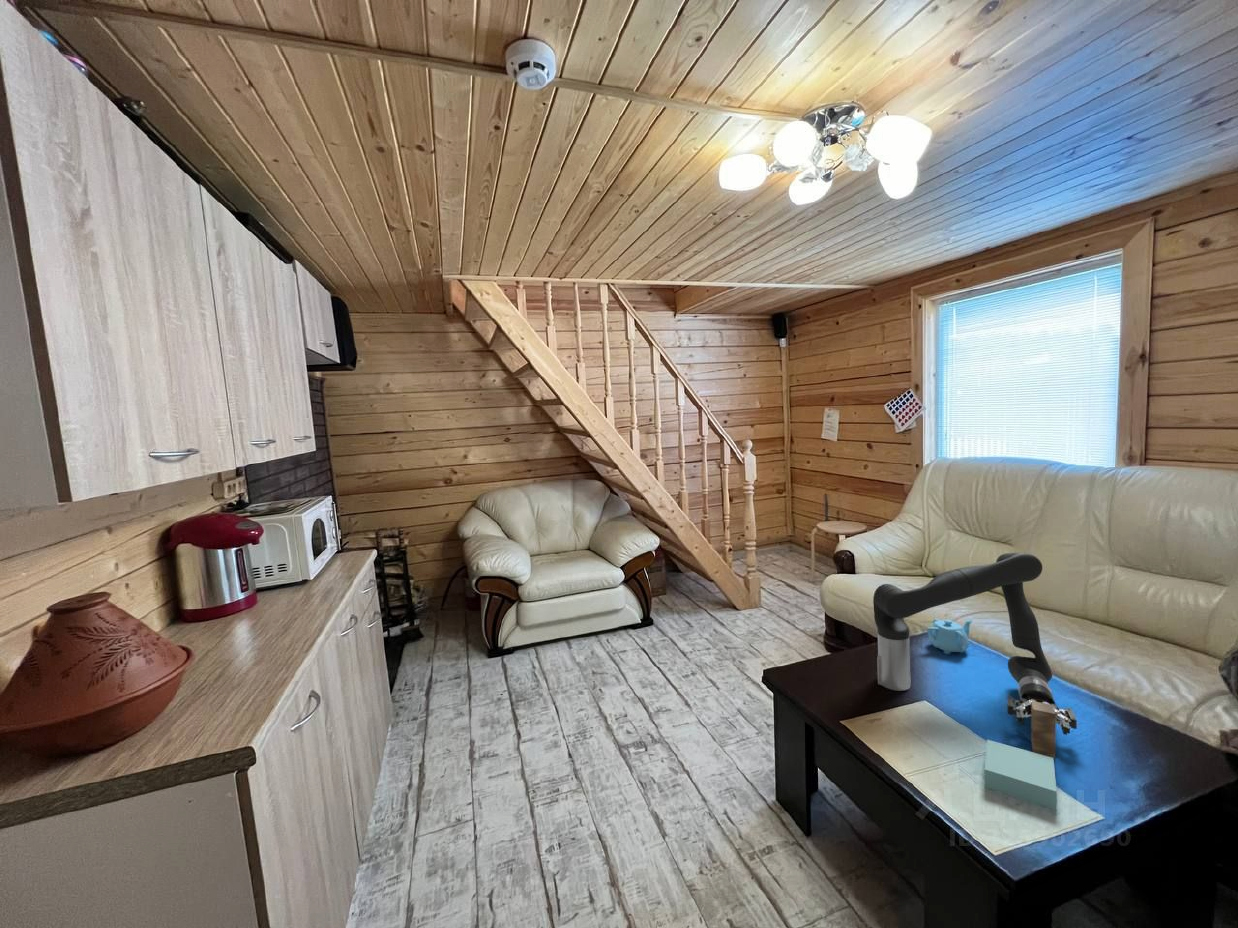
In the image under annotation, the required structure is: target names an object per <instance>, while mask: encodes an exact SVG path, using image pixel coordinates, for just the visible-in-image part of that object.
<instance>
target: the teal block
mask: <svg viewBox="0 0 1238 928" xmlns="http://www.w3.org/2000/svg"><path fill="white" fill-rule="evenodd" d="M985 749H986V750H985V760H984V761H985V762H984V788H986V789H989V790H993V791H995V792H998V793H1001V794H1003V795H1006V796H1007V795H1008V796H1010V797H1013V798H1017V799H1018V800H1019V799H1020V800H1022V801H1025V802H1028V803H1032V804H1035V805H1036V806H1040V807H1044V808H1047V809H1050V810H1053V811H1056V812H1057V805H1058V803H1057V802H1058V798H1057V796H1058V794H1057V791H1058V789H1057V781H1056V772H1055V762H1054V759H1055V758H1052V757H1048V756H1044V755H1041V754H1037V753H1034V752H1033V751H1029V750H1026V749H1022V748H1018V747H1015V746H1012V745H1009V744H1008V745H1007V744H1004V743H1001V742H997V741H994V740H991V739H990V740H989V739H986V747H985Z"/></svg>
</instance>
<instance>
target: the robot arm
mask: <svg viewBox="0 0 1238 928" xmlns="http://www.w3.org/2000/svg"><path fill="white" fill-rule="evenodd" d="M1042 571H1043V563H1042V561H1041V560H1040V559H1039V558H1038V557H1037V556H1035V555H1033V554H1031V553H1026V552H1007V553H1003V554H1001V555H999V556H998V557H997V558H996V561H995V562H993V563H988V564H983V565H982V564H980V565H972V566H971V565H970V566H966V567H959V568H955V569H951V570H947V571H944V572H942V573H939V574H937V575H936V576H934V577H933V578H932V579H931V580H930V581H929V582H928V583H927V584H925V585H923V586H921V587H918V588H913V589H909V590H908V589H907V590H902V589H901V588H899V587H898V586H895V585H893V584H890V583H884V584H880V585H879V586H878V587H877V588H876V589H875V591H874V594H873V601H872V604H873V615H874V618H873V619H874V623H875V626H876V629H877V651H878V652H877V658H876V659H877V660H876V663H877V684H878V685H880V686H882V687H883V688H886V689H888V690H892V691H898V692H901V691H907V690H909V689H910V688H911V686H912V685H911V650H910V628H909V626H908V625H907V622H905V619H906V618H909V617H912V616H914V615H916V614H919V613H921V612H924V611H926V610H928V609H931V608H935V607H939V606H942V605H945V604H948V603H952V602H956V601H961V600H964V599H967V598H971V597H974V596H977V595H980V594H983V593H986V592H989V591H992V590H994V589H997V588H1000V587H1001V590H1002V593H1003V596H1004V600H1005V604H1006V607H1007V612H1008V618H1009V626H1010V634H1011V635H1010V636H1011V642H1012V645H1013V646H1014V647H1015V648H1017V649H1021V650H1025V651H1027V652H1030V653H1032V654H1033V655H1034V657H1028V656H1022V655H1021V656H1020V655H1014V656H1012V657H1009V659H1008V661H1007V669H1008V672H1009V673H1010V675H1011V677H1012V678H1013V679H1014V680H1015V681H1016V683H1018V687H1017V688H1018V695H1019V700H1017V699H1014V698H1013V697H1014V696H1011V695H1007V697H1006V698H1007V699H1006V701H1007V709H1006V710H1007V711H1006V712H1007V715H1009V716H1012V715H1015V717H1016V721H1017V723H1020V725H1022V726H1025V718H1029V717H1031V701H1035V702H1040V703H1045V704H1050V705H1053V707H1054V710H1055V714H1056V720H1055V725H1057V724H1058V725H1059V726H1060V727H1061V731H1062V733H1063V734H1062V735H1064V736H1067V735H1068V734H1071V728H1072V729H1073V730H1074V729H1075V730H1076V729H1078V725H1077V721H1078V719H1077V716H1076V715H1075V713H1074V711H1073V709H1072V708H1070V707H1066V708H1065V709H1062V708H1060V707H1058V705H1056V702H1055V698H1054V695H1053V693H1052V690H1051V688H1050V686H1049V682H1050V681H1051V680H1052V677H1053V671H1052V669H1051V667H1050V665H1049V662H1048V660H1047V658H1046V656H1045V654H1044V651H1043V647H1042V643H1041V637H1040V630H1039V623H1038V621H1037V617H1036V615H1035V614H1034V611H1032V608H1031V606H1030V605H1029V602H1028V600H1027V598H1026V595H1025V591H1024V583H1026V582H1031V581H1034V580H1036V579H1037V578H1039V577H1040V575H1041V574H1042Z"/></svg>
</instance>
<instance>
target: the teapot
mask: <svg viewBox="0 0 1238 928" xmlns="http://www.w3.org/2000/svg"><path fill="white" fill-rule="evenodd" d="M973 621H974V619H968V620H966V621H965V623H964V625H963V626H961V625H960V624H959V623H957V622H955V621H953V620H950V619H943V620H941V619H937V618H936V619H934V620H933V621H932V625H931V626H929V627H927V628H926V633H927V634H928V639H929V641H930V642H931V644H932V645H933V647H934V648H937V649H940V650H942V651H943V654H944V655H951V653H961V654H964V653H965V651H967V650H968V648H969V647H970V642H969V638H968V637H969V636H970V626H971V623H972V622H973Z"/></svg>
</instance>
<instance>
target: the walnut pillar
mask: <svg viewBox="0 0 1238 928" xmlns="http://www.w3.org/2000/svg"><path fill="white" fill-rule="evenodd" d="M1055 720H1056V714H1055V710H1054V707H1053V705H1050V704H1045V703H1040V702H1035V701H1031V716H1030V742H1031V745H1030V746H1031V750H1032V752H1034V753H1037V754H1041V755H1044V756H1048V757H1052V758H1053V759H1056V724H1055Z"/></svg>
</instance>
